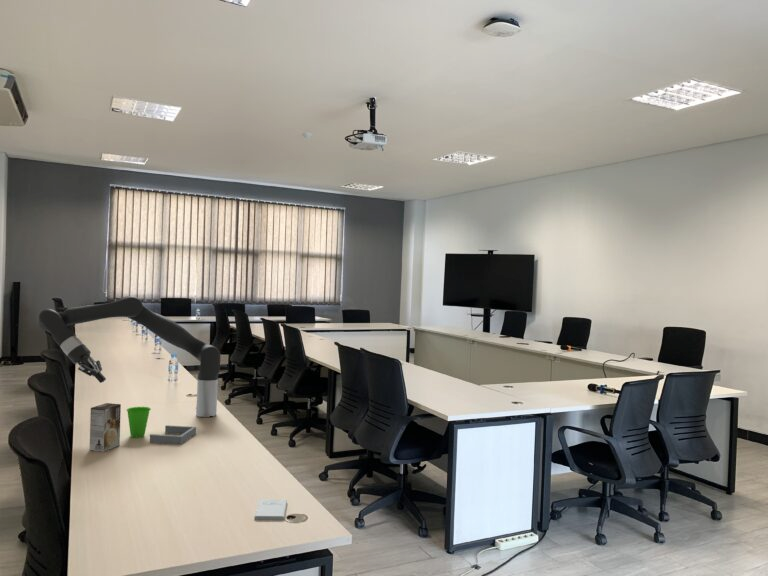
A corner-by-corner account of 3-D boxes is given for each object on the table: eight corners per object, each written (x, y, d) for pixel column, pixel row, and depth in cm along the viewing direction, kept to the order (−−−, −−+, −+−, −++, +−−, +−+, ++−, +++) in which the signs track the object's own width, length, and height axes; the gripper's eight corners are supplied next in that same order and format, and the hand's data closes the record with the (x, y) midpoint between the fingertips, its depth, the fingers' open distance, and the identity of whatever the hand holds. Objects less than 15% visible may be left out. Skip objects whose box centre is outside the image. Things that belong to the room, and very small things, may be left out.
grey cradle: (166, 432, 243) (166, 425, 243) (195, 434, 242) (196, 426, 242) (149, 442, 228) (150, 434, 228) (181, 444, 227) (181, 436, 227)
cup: (154, 434, 239) (155, 408, 238) (138, 440, 230) (139, 412, 230) (136, 431, 242) (137, 405, 241) (120, 437, 233) (121, 409, 233)
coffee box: (105, 444, 223) (106, 402, 223) (120, 445, 222) (121, 403, 222) (88, 450, 214) (90, 407, 214) (103, 452, 213) (105, 409, 213)
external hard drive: (254, 521, 161) (259, 504, 173) (283, 521, 162) (286, 504, 174) (254, 515, 161) (259, 498, 173) (284, 516, 162) (287, 499, 174)
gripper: (72, 345, 230) (101, 377, 229) (90, 341, 243) (118, 372, 243) (59, 358, 230) (87, 390, 230) (78, 353, 243) (105, 384, 243)
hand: (103, 381), depth 236 cm, fingers closed
